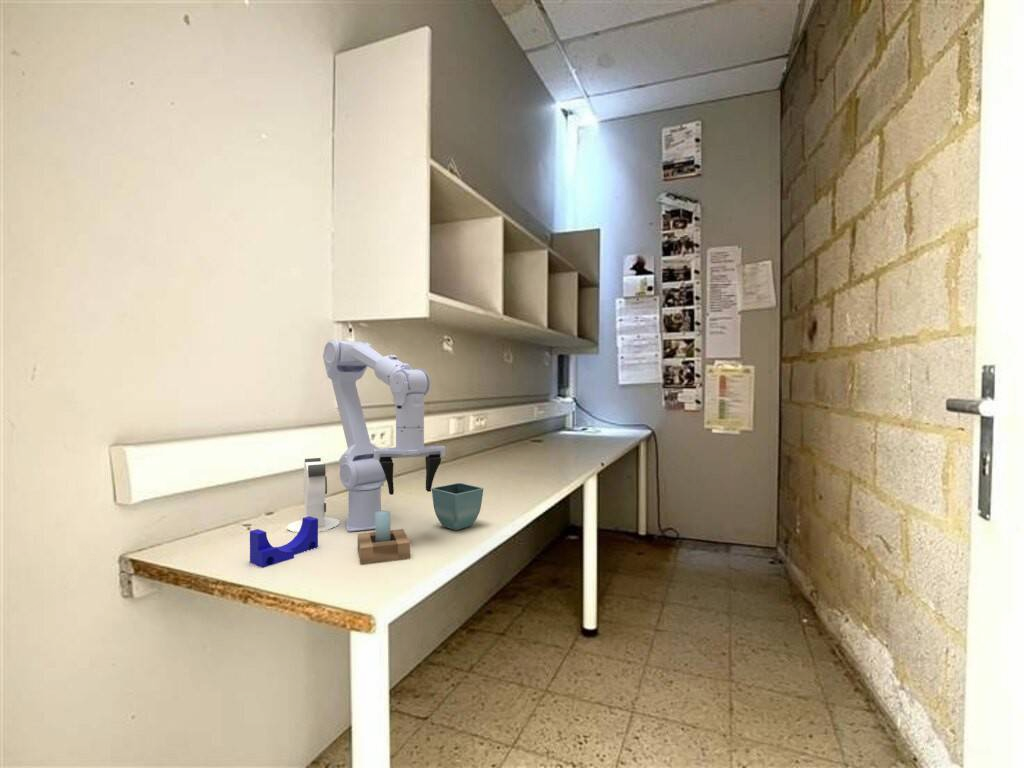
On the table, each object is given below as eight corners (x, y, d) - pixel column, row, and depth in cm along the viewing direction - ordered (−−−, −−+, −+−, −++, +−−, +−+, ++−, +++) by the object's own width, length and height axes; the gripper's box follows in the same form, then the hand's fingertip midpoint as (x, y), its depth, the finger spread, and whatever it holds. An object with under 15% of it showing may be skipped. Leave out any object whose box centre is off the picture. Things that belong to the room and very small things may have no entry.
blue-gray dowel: (375, 551, 96) (375, 511, 96) (389, 550, 97) (389, 510, 97) (375, 556, 93) (375, 514, 93) (390, 555, 94) (390, 513, 94)
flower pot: (484, 526, 113) (484, 487, 113) (456, 535, 106) (456, 494, 106) (459, 518, 119) (459, 482, 119) (430, 527, 112) (430, 488, 112)
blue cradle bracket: (262, 568, 88) (262, 535, 88) (249, 563, 90) (249, 531, 90) (322, 549, 98) (322, 520, 97) (309, 545, 100) (309, 516, 100)
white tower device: (343, 529, 110) (343, 463, 110) (288, 537, 105) (288, 467, 105) (336, 516, 121) (336, 456, 121) (285, 522, 116) (285, 459, 116)
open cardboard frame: (357, 548, 98) (357, 533, 98) (403, 543, 101) (403, 528, 101) (360, 564, 89) (360, 548, 89) (410, 558, 92) (410, 542, 92)
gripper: (375, 429, 95) (375, 499, 95) (448, 427, 101) (448, 493, 101) (372, 426, 102) (372, 491, 102) (441, 424, 107) (441, 486, 107)
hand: (410, 492), depth 102 cm, fingers open, 7 cm apart
